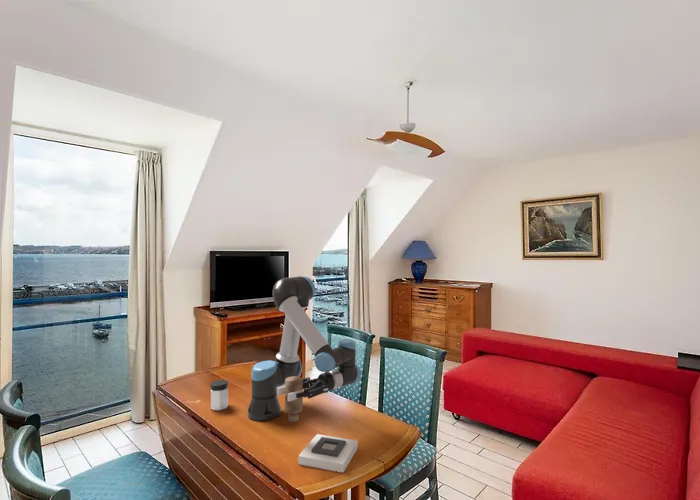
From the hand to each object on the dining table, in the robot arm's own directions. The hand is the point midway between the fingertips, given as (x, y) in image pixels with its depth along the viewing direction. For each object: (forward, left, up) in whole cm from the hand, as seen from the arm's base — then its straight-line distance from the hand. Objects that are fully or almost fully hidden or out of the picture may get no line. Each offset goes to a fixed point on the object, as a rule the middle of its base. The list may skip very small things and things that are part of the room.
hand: (282, 394), depth 147 cm
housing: (+18, +2, -22) cm, 28 cm away
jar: (-49, +26, -22) cm, 60 cm away
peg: (+2, +4, -11) cm, 12 cm away
